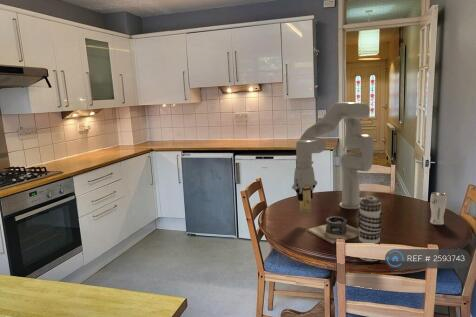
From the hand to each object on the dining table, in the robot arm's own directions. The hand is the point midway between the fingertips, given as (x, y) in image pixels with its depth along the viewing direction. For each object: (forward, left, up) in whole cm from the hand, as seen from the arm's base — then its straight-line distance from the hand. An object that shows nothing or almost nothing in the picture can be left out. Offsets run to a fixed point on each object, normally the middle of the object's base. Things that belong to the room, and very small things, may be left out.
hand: (305, 199), depth 184 cm
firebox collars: (-5, +17, -13) cm, 22 cm away
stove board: (-5, +17, -13) cm, 22 cm away
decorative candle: (+1, +43, -14) cm, 45 cm away
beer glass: (-55, +34, -14) cm, 66 cm away
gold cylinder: (0, 0, -7) cm, 7 cm away
